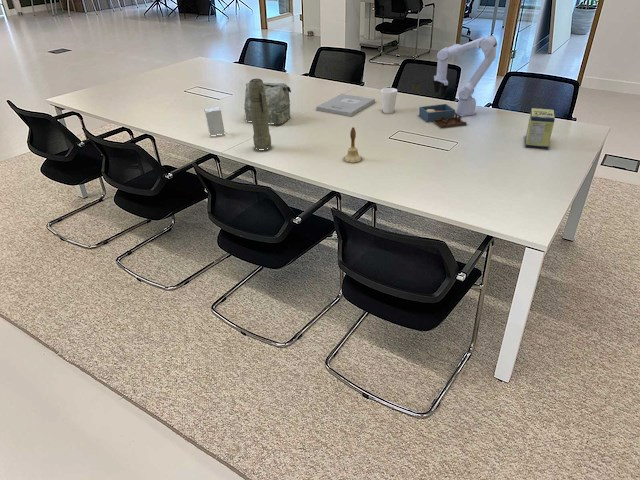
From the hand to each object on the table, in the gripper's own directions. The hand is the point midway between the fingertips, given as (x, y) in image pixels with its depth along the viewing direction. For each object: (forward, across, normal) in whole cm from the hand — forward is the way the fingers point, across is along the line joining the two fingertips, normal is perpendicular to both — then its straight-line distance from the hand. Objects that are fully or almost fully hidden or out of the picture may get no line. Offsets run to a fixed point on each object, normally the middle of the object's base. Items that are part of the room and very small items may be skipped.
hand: (439, 94), depth 289 cm
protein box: (+10, +63, +24) cm, 68 cm away
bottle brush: (+7, +10, -6) cm, 13 cm away
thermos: (+10, +25, -110) cm, 113 cm away
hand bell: (+10, +53, -70) cm, 88 cm away
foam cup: (+10, -7, -29) cm, 31 cm away
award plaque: (+10, -26, -50) cm, 57 cm away
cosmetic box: (+10, -2, -132) cm, 132 cm away
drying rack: (+9, +24, -4) cm, 26 cm away
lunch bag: (+10, -17, -100) cm, 102 cm away
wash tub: (+9, +12, -6) cm, 16 cm away
